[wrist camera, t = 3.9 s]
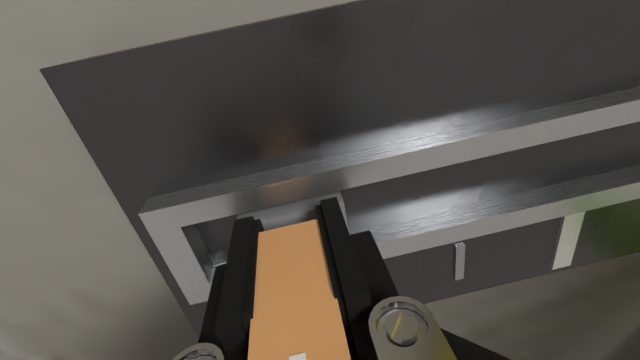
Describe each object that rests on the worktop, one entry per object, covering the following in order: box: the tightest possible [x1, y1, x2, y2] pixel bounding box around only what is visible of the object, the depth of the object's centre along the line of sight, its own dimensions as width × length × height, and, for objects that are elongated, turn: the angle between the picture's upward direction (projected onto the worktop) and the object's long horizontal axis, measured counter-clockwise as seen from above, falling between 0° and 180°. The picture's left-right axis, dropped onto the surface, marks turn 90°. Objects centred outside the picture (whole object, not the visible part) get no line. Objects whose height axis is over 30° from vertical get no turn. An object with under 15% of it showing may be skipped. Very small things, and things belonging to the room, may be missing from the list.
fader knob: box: [237, 191, 351, 360], centre depth 8 cm, size 3×4×6 cm
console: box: [40, 0, 640, 337], centre depth 13 cm, size 13×24×4 cm, turn 101°
